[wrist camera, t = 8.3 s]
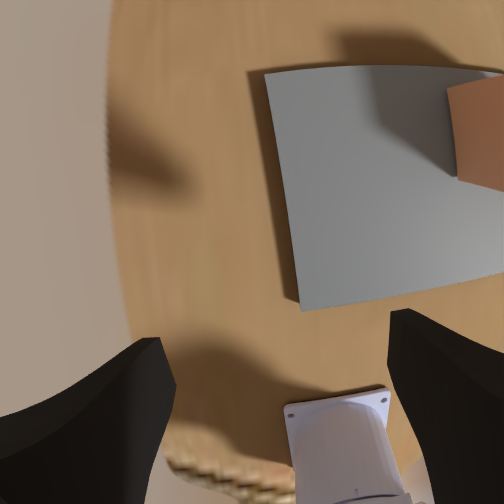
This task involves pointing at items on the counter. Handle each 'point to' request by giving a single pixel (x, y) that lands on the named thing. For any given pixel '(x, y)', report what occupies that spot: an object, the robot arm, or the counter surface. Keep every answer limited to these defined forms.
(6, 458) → the robot arm
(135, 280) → the counter surface
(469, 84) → the salmon pink block
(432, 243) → the board
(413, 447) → the counter surface
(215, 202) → the counter surface
